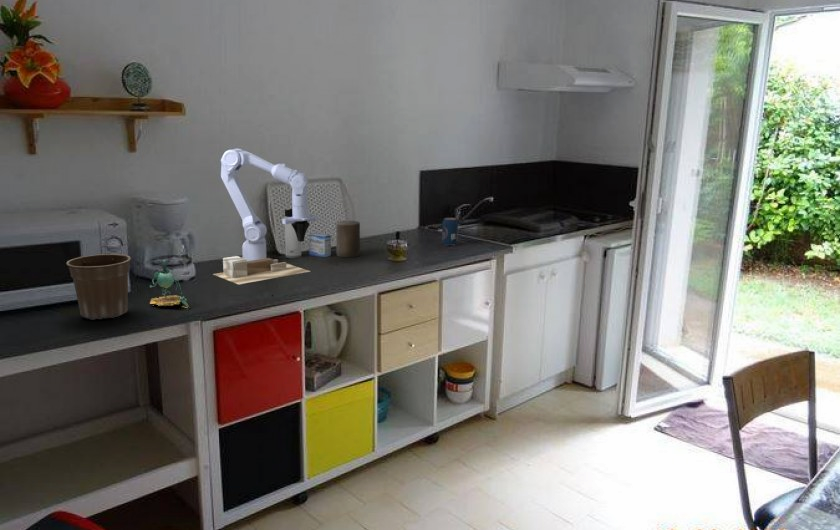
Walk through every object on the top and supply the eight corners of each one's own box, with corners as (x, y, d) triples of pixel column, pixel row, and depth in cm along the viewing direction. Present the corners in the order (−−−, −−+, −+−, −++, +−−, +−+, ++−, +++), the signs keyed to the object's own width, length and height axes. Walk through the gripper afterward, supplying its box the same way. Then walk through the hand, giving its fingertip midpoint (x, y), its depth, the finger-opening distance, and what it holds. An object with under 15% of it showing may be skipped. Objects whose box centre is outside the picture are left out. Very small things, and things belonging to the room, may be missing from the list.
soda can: (439, 243, 300) (439, 217, 298) (452, 242, 303) (453, 216, 301) (446, 246, 294) (446, 220, 292) (459, 245, 297) (460, 219, 295)
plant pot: (59, 321, 183) (52, 264, 179) (94, 305, 199) (89, 252, 195) (114, 325, 181) (109, 267, 177) (145, 308, 197) (141, 255, 193)
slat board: (212, 276, 234) (211, 257, 232) (283, 265, 254) (283, 247, 252) (238, 287, 222) (237, 266, 220) (310, 273, 241) (310, 255, 240)
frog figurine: (165, 315, 191) (159, 264, 189) (141, 307, 204) (135, 260, 202) (197, 308, 198) (191, 259, 195) (171, 301, 211) (166, 255, 208)
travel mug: (293, 259, 264) (292, 209, 259) (282, 257, 267) (281, 207, 263) (305, 256, 268) (304, 207, 264) (294, 254, 272) (293, 206, 268)
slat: (229, 275, 233) (228, 264, 232) (269, 268, 244) (268, 257, 243) (233, 276, 231) (233, 265, 230) (273, 270, 242) (273, 259, 241)
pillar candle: (362, 257, 271) (363, 220, 267) (339, 258, 267) (339, 221, 264) (356, 252, 279) (356, 216, 276) (333, 253, 276) (333, 217, 272)
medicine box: (308, 255, 272) (308, 234, 270) (315, 253, 276) (315, 232, 274) (324, 257, 268) (324, 236, 266) (331, 255, 272) (331, 234, 270)
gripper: (289, 208, 241) (290, 245, 244) (322, 205, 251) (322, 240, 254) (278, 206, 246) (279, 242, 249) (311, 203, 256) (311, 237, 259)
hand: (300, 241), depth 252 cm, fingers closed
